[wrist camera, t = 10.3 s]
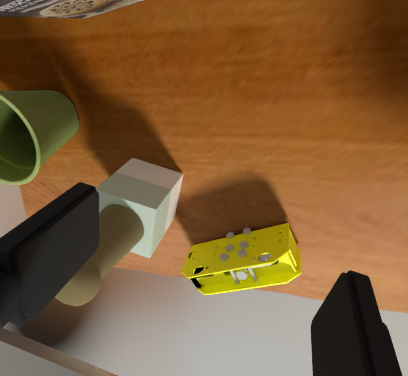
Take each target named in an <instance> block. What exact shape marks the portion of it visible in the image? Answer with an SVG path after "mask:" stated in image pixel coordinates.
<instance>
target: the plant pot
mask: <svg viewBox="0 0 408 376" xmlns="http://www.w3.org/2000/svg"><path fill="white" fill-rule="evenodd" d="M78 128H79V119H78V116H77V111H76V108H75V106H74V105H73V103H72V102H71V101H70V100H69V99H68V98H67V97H66V96H65V95H63V94H62V93H60V92H58V91H54V90H30V91H3V90H0V182H2V183H5V184H10V185H21V184H25V183H27V182H29V181H31V180H32V179H33V178H34V177H35V176H36V175H37V173H38V171H39V168H40V167H41V166H42V165H43V164H44V163H45V161H46V159H47V158H49V157H50V156H51V155H52V154H53V153H54V152H55V151H57V150H58V149H59V148H60V147H61V146H62V145H64V144H65V143H66V142H67V141H68V140H70V139H71V138H72V137H73V136H74V135H75V134H76V133H77V131H78Z"/></svg>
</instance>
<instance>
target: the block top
mask: <svg viewBox="0 0 408 376" xmlns="http://www.w3.org/2000/svg"><path fill="white" fill-rule="evenodd" d="M96 191H97V192H98V193H99V214H100V212H101V211H102V210H103V209H104V208H105V207H106V206H108V205H111V204H117V205H122V206H125V207H127V208H129V209H130V210H132V211H133V212H134V213H135V214H136V215H137V216H138V217H139V218H140V220H141V222H142V223H143V227H144V235H143V237H142V239H141V240H140V241H139V242H138V243H137V244H136V245H135V246H134V247H133V248H132V249H131V250H130V252H133V253H136V254H138V255H141V256H144V257H147V258H150V257H151V256H152V254H153V252H154V251H155V249H156V247H157V246H158V244H159V243H160V241H161V239H162V238H163V236H164V232H165V226H166V220H167V214H168V207H169V201H170V195H171V189H168V188H165V187H162V186H159V185H156V184H153V183H150V182H146V181H143V180H140V179H137V178H134V177H131V176H127V175H124V174H121V173H118V172H115V173H114V174H112V175H111V176H110V177H109V178H107V179H106V180H105V181H104V182H103V183H101V184H100V185H99V186H98V187H97V188H96Z"/></svg>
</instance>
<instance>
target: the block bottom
mask: <svg viewBox="0 0 408 376" xmlns="http://www.w3.org/2000/svg"><path fill="white" fill-rule="evenodd" d="M116 172H118V173H121V174H124V175H127V176H131V177H134V178H137V179H140V180H143V181H146V182H150V183H153V184H156V185H159V186H162V187H165V188H168V189H171V195H170V201H169V207H168V214H167V220H166V226H165V232H166V230H167V229H168V227H169V225H170V224H171V222H172V221H173V219H174V217H175V214H176V208H177V203H178V198H179V193H180V188H181V183H182V178H183V174H182V173H179V172H176V171H173V170H170V169H167V168H163V167H160V166H157V165H154V164H151V163H148V162H145V161H142V160H139V159H135V158H132V159H131V160H129V161H128V162H127V163H126V164H124V165H123V166H122V167H121V168H120V169H118V170H117V171H116ZM165 232H164V233H165Z"/></svg>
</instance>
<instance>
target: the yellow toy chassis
mask: <svg viewBox="0 0 408 376" xmlns="http://www.w3.org/2000/svg"><path fill="white" fill-rule="evenodd" d="M226 236H227V237H226V238H222V239H217V240H213V241H209V242H205V243H200V244H196V245H192V247H191V249H190V251H189V254H188V256H187V258H186V260H185V263H184V265H183V267H182V269H181V271H180V272H181V273H182V274H183V275H185V276H186V277H187V278H191V280H192V282H193V283H194V284H195V286H196V287H197V290H198V291H200V292H201V293H203V294H204V295H210V294H218V293H224V292H231V291H238V290H245V289H251V288H258V287H265V286H272V285H278V284H285V283H288V282H290V281H291V280H293V279H294V278H296V277H297V276H299V275H300V274H301V254H300V248H299V249H296V246H297V244H296V242H295V240H294V237H293V235H292V233H291V230H290V229H289V223H285V224H281V225H277V226H273V227H268V228H264V229H260V230H256V231H251V230H250V228H245V229H244V230H243V234H239V235H234V233H233V232H229V233H227V235H226Z"/></svg>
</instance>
